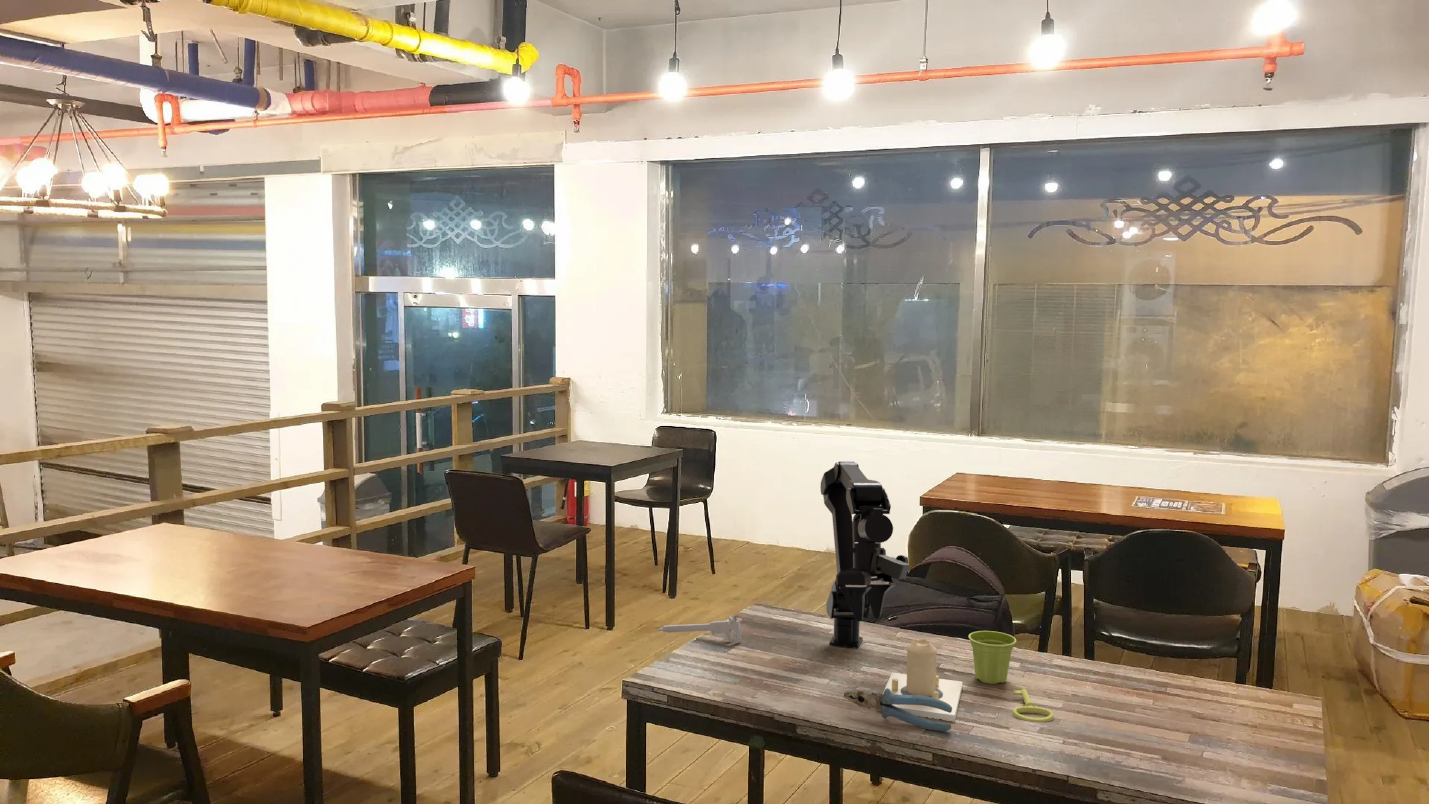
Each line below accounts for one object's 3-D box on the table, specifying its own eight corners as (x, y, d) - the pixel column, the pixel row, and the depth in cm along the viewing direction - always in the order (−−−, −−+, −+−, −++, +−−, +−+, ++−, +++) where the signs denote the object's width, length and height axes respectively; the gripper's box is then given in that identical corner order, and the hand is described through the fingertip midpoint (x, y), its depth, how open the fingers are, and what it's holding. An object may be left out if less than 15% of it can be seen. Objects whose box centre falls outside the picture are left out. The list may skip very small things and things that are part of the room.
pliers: (842, 713, 188) (842, 682, 187) (846, 709, 190) (847, 678, 189) (949, 736, 179) (950, 703, 178) (952, 731, 181) (953, 699, 180)
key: (1024, 698, 198) (1025, 687, 198) (1058, 723, 186) (1058, 712, 186) (990, 700, 197) (991, 689, 197) (1022, 725, 185) (1022, 714, 185)
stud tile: (891, 678, 206) (892, 663, 206) (962, 687, 202) (963, 671, 202) (877, 710, 189) (878, 694, 189) (954, 721, 185) (955, 704, 185)
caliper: (741, 643, 227) (741, 616, 226) (739, 645, 226) (739, 617, 226) (659, 630, 235) (660, 603, 235) (657, 631, 234) (658, 605, 234)
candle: (903, 694, 194) (904, 643, 193) (910, 684, 199) (911, 635, 198) (931, 699, 192) (933, 647, 191) (938, 689, 197) (939, 639, 196)
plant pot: (963, 683, 204) (965, 641, 204) (970, 668, 213) (972, 628, 212) (1011, 690, 201) (1013, 647, 200) (1016, 675, 210) (1018, 634, 209)
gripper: (886, 543, 198) (888, 624, 196) (919, 542, 214) (922, 618, 212) (834, 543, 204) (835, 622, 202) (870, 542, 220) (872, 616, 218)
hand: (868, 619), depth 208 cm, fingers open, 9 cm apart
